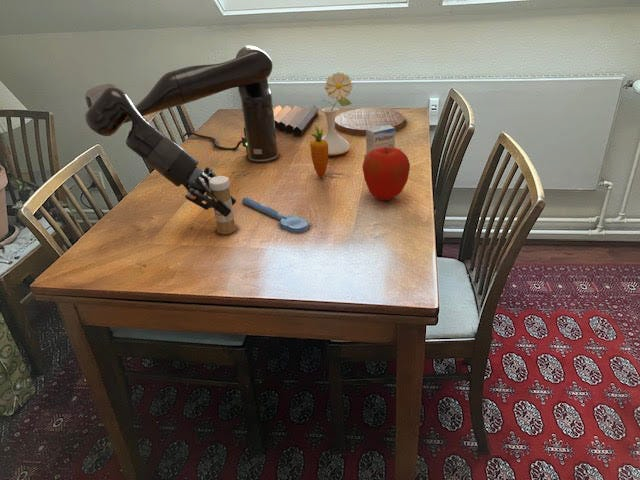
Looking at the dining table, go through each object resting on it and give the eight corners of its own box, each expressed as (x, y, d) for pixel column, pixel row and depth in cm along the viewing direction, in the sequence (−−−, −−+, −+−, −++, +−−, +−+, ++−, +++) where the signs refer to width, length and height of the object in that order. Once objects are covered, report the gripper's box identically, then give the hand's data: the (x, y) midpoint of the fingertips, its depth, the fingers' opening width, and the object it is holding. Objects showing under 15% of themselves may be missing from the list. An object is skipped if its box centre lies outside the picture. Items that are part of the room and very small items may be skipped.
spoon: (236, 206, 138) (235, 199, 137) (251, 199, 141) (250, 193, 140) (296, 235, 123) (296, 228, 122) (312, 227, 126) (312, 220, 125)
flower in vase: (308, 156, 165) (303, 75, 152) (322, 144, 174) (318, 66, 161) (348, 161, 161) (345, 77, 148) (359, 147, 170) (358, 68, 157)
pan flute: (302, 136, 182) (318, 114, 203) (301, 126, 180) (318, 105, 201) (234, 134, 188) (257, 112, 208) (233, 125, 186) (256, 104, 207)
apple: (396, 211, 130) (397, 158, 123) (354, 202, 136) (353, 150, 129) (416, 192, 139) (418, 141, 132) (375, 184, 145) (375, 135, 138)
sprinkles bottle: (213, 231, 127) (204, 180, 120) (227, 224, 130) (219, 173, 123) (225, 237, 124) (217, 185, 117) (240, 229, 127) (232, 178, 120)
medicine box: (373, 160, 160) (373, 132, 156) (365, 155, 164) (365, 128, 159) (395, 154, 163) (395, 127, 159) (387, 150, 166) (387, 123, 162)
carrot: (327, 182, 148) (325, 130, 140) (310, 181, 149) (307, 130, 141) (331, 175, 152) (328, 124, 144) (314, 174, 153) (311, 124, 145)
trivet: (408, 133, 179) (408, 128, 178) (335, 136, 180) (335, 131, 179) (400, 111, 200) (400, 106, 200) (334, 114, 201) (334, 109, 200)
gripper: (173, 160, 127) (229, 205, 131) (151, 185, 114) (214, 233, 119) (190, 139, 123) (247, 185, 128) (170, 162, 111) (233, 213, 116)
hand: (231, 208), depth 124 cm, fingers closed on sprinkles bottle, 4 cm apart
